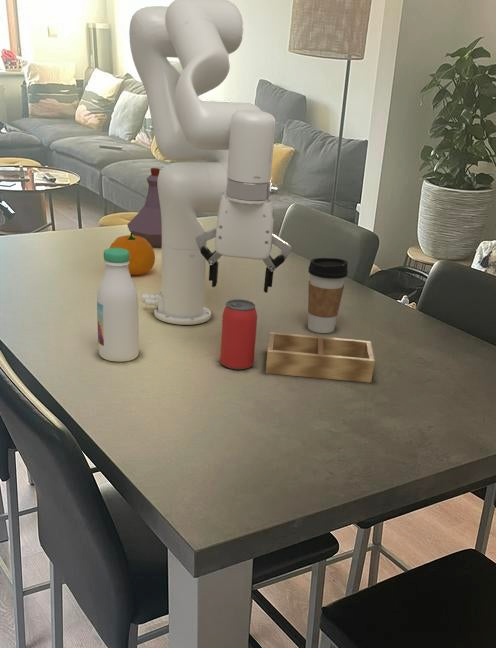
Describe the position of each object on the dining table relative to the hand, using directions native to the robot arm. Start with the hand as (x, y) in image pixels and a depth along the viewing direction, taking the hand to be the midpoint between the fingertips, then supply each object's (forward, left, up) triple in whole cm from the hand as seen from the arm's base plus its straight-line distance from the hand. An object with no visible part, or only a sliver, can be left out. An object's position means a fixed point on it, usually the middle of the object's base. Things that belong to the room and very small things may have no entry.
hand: (240, 287), depth 144 cm
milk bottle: (-23, -2, -15) cm, 27 cm away
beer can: (0, -1, -15) cm, 15 cm away
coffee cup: (+17, +24, -15) cm, 34 cm away
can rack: (+16, +1, -15) cm, 22 cm away
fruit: (-31, +54, -15) cm, 64 cm away
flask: (-30, +84, -15) cm, 91 cm away
